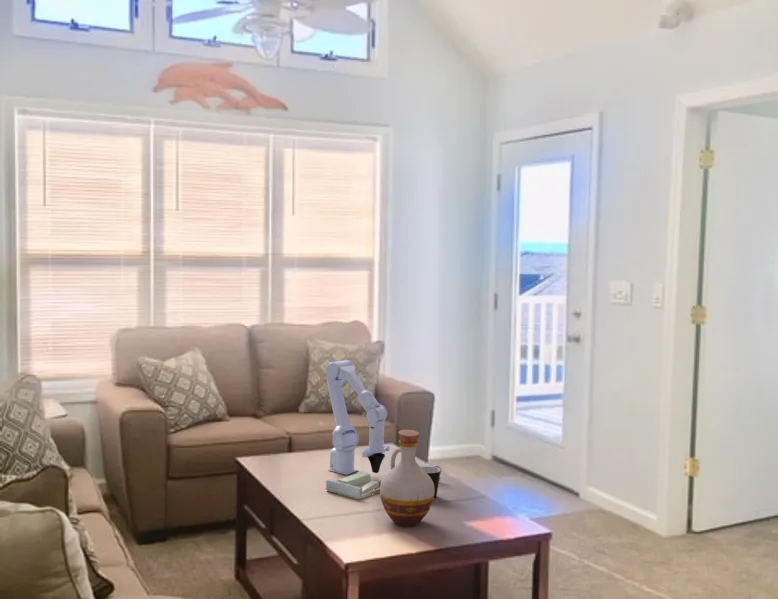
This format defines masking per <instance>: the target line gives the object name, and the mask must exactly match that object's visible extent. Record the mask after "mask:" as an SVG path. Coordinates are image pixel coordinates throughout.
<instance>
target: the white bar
mask: <svg viewBox="0 0 778 599" xmlns="http://www.w3.org/2000/svg"><path fill="white" fill-rule="evenodd" d="M379 484H380V483H379V481H378V480H370V482H369V483H368V484H366V485H364V486H363V487H361V488H362V494H363V493H366V492H369V491H372V490H373V489H375V488H376V487H377V488H379ZM377 488H376V489H377Z"/></svg>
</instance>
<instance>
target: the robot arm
mask: <svg viewBox="0 0 778 599" xmlns="http://www.w3.org/2000/svg"><path fill="white" fill-rule="evenodd" d="M324 371H325V374H326V386H327V390H328V395H329V399H330V405H331V409H332V414H333V418H334V422H335V428H334V429H333V431H332V446H333V448H332V449H331V451H330V455H329V468H328V471H330V472H335V473H339V474H343V475H351V474H352V473H355V472H358V470H359V469H358V468H355V452H356V451H355V449H356V448H357V445H358V444H359V442H360V438H359V434H358V433H357V431H356V428H355V426H354V425H353V424H351V423H350V419H349V415H348V410H347V406H346V400H345V396H344V391H343V386H342V385H343V383H344V382H345V381H347V383H348V384H349V385H350V386H351V387H352V389H353V390H354V391H355V392H356V394H357V395H358V398H357V399H358V402H359V403H360V404H361V406H362V408H363V409H364V410H365V412H366V414H365V415H366V419H367V421H368V428H369V430H368V448H367V449H366V450H363V451H362V452H361V454H362V455H361V457H362V458H364V459H365V458H367V460H368V461H369V463H370V466H371V471H372V472H371V473H374V474H378V473H379V472H380V468H381V465H382V462H383V460H384V458H385V457H386V452H389V451H390V448H391V447H390V445H386V444H385V421H386V419H387V418H388V416H389V414H388V412H389V411H388V409H387V408H386V406H385V405H382V404H381V403H379V402H378V401H377V399H376V397H375V396H374V393H373V392H372V391H370V390H366V388H365V387H364V385H363V383H362V381H361V380H360V378H359V376H358V375H357V373H356V367H355V366H354V365H353V362H352V361H351V360H349V359H344V360H338V361H330V362H329V363H328V364H327V365H326V367H325V370H324ZM359 471H360V470H359Z"/></svg>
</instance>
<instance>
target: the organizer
mask: <svg viewBox="0 0 778 599" xmlns="http://www.w3.org/2000/svg"><path fill="white" fill-rule="evenodd" d="M325 482H326V484H325V487H326V489H325V491H326V490H327V491H326V492H328V491H330V492H329V493H332V492H334V493H333V494H335V493H337V494H336V495H339V494H340V495H339V496H343V495H344V496H343V497H346V496H348V497H347V498H350V497H351V498H350V499H354V498H356V499H355V500H357V499H360V500H363V499H366V498H368V497H367V496H369V497H371V496H373V495H372V494H374V495H376V494H375V493H377V494H378V492H379V493H380V487H377V488H376V489H374V490H372V491H369V492H366V493H363V494H362V488H361V487H363V486H364V485H366V484H368V483H369V482H368V483H365V484H362V485H359V486H353V485H349V484H345V483H341V482H338V480H337V481H336V480H334V479H333V480H332V479H327V480H326V481H325ZM370 495H371V496H370ZM365 497H366V498H365ZM362 498H363V499H362Z"/></svg>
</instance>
